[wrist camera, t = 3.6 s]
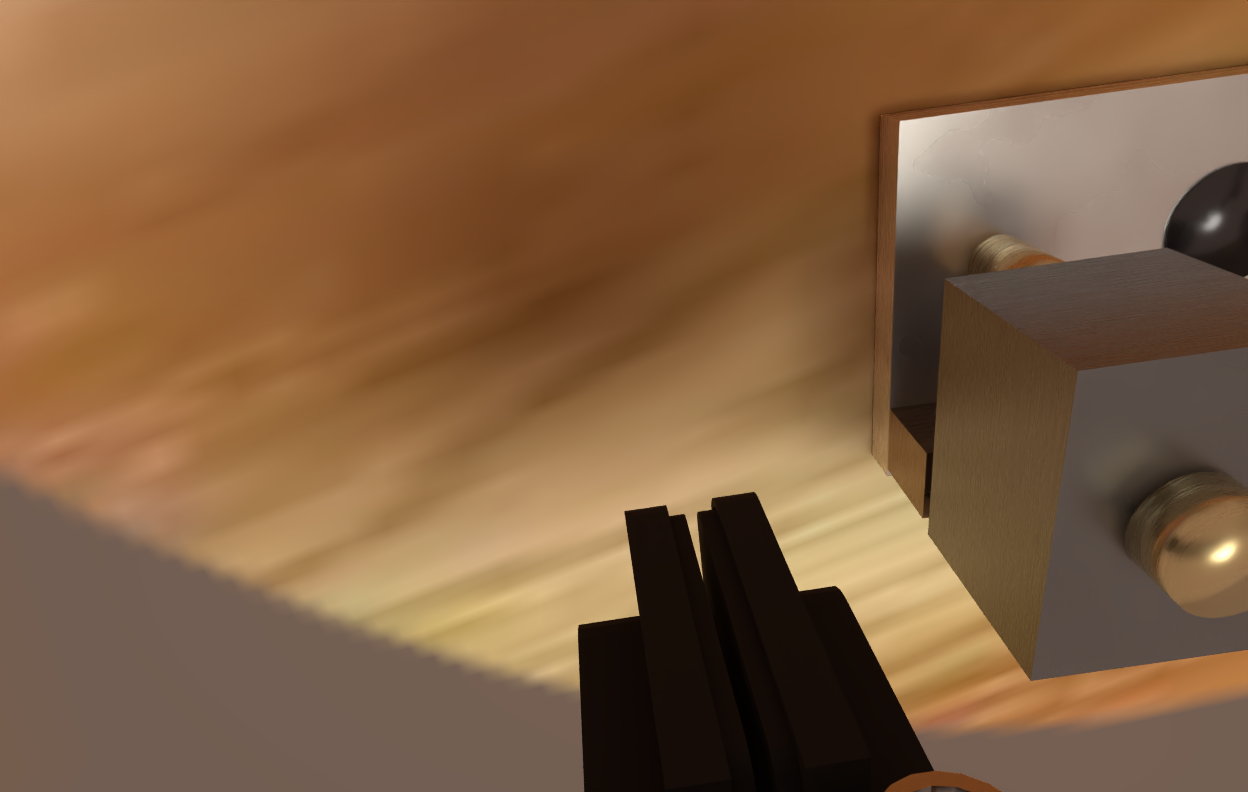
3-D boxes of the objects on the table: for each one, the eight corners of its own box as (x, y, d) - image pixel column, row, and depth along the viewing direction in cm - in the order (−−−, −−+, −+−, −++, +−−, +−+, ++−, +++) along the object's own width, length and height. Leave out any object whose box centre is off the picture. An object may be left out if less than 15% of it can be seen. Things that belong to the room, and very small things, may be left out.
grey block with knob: (1097, 221, 16) (1454, 358, 9) (1061, 458, 18) (1324, 693, 12) (901, 248, 16) (1127, 405, 9) (892, 483, 18) (1065, 731, 12)
